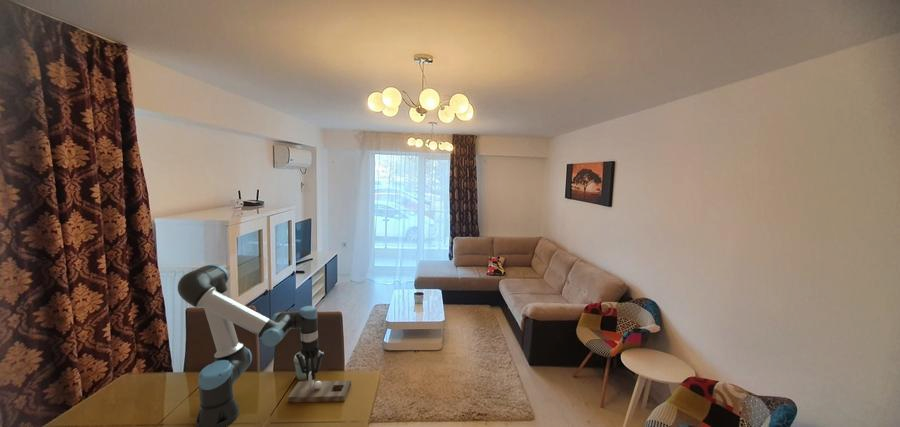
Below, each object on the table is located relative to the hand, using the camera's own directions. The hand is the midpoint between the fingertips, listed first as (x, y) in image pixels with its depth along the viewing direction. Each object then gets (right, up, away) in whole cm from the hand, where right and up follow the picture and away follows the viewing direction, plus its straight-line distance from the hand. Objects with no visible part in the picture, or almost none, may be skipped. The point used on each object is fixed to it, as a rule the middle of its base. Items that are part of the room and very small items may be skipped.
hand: (311, 385), depth 158 cm
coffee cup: (-10, -3, +14) cm, 17 cm away
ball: (+3, 0, 0) cm, 3 cm away
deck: (+4, -4, +1) cm, 6 cm away
